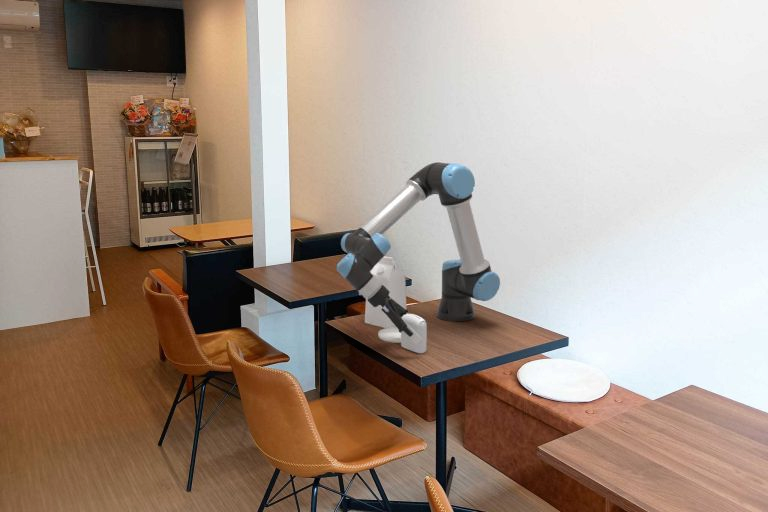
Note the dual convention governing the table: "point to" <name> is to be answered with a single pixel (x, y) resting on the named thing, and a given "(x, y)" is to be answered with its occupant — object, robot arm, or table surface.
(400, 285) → the milk
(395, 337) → the white plate
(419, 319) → the photo printer
